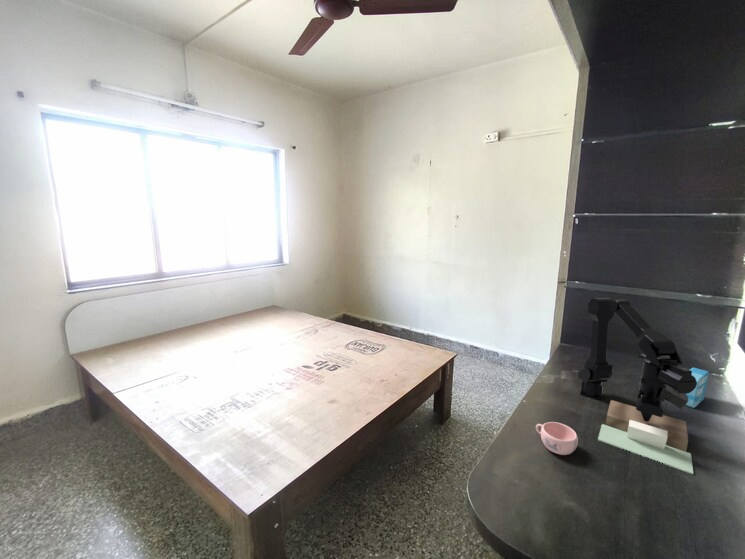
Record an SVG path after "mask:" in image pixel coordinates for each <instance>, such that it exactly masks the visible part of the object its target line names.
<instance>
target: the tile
mask: <svg viewBox="0 0 745 559" xmlns="http://www.w3.org/2000/svg"><path fill="white" fill-rule="evenodd" d="M667 434H668V431H666V430H662V429H659V428H656V427H652V426H649V425H646V424H643V423H639V422H636V421H633V420H629V426H628V432H627V438H630V439H633V440H636V441H639V442H642V443H645V444H648V445H651V446H654V447H657V448H660V449H663V450H664V448H665V445H666V441H667Z"/></svg>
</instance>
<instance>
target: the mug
mask: <svg viewBox="0 0 745 559" xmlns="http://www.w3.org/2000/svg"><path fill="white" fill-rule="evenodd" d="M539 428H540V429H539ZM535 431H536V432H537V434H539V435H540V437H541V441H542V443H543V445H544V446H545V448H546V449H548V450H549V451H550V452H551V453H553V454H554V453H555V454H556V455H559V456H567V455H571V454H573V453H574V452H575V450H576V449H577V447H578V442H579V438H578V435H577V433H576V431H575V430H574V429H573V428H571V427H570V426H569V425H567V424H564V423H562V422H561V423H560V422H558V421H557V422H556V421H549V422H545V423H543V424H542V423H537V424H536V425H535Z"/></svg>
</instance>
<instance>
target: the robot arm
mask: <svg viewBox="0 0 745 559" xmlns="http://www.w3.org/2000/svg"><path fill="white" fill-rule="evenodd" d="M587 311H588V315H589V317H590V318H591V320H592V328H591V330H592V331H591V341H590V342H591V344H590V356H589V357H588V359H587V360H586V361H585V363H584V366H583V367H584V368H583V369H581V370H580V371H578V372H577V378H578V379H579V380H581V387H580V388H581V389H580V391H579V395H581V396H584V397H588V398H591V399H594V400H597V401H600V398H602V397H603V391H604V384H603V383H607V382H608V381H609V379H611V376H612V375H613V364H611V363H610V362H609V361H608V360H607V353H608V352H607V351H608V350H607V349H608V337H609V322H610V321H611V319H612V318H613V317H614V316H615V314H616V315H617V316H618V317H619V318H620V319H621V320H622V322H623V323H624V324H625V325H626V327H628V328H629V329H630V331H631V332H632V334H634V335H635V337H636V338H637V345H638V347H639V348H640V350H641V351H642V353H640V354H638V355H637V357H638V358H639V359H642V360H643V364H642V371H641V374H640V381H638V386H637V390H639V391H638V394H637V400H636V405H635V407H636V410H638V411H641V414H642V416H643V419H644V421H646V422H649V420H650V418H651V416H652V415H655V416H658V417H663V415H664V412H665V409H664V405H663V404H662V403H663V402H665V401H667V402H669V403H671V405H674V406H676V408H678V409H683V408H684V407H685V406H687V405H686V403H687V402H688V401H689V400H688V396H687V395H686V394H687V393H690V392H692V391H693V390H694V389H695V388H696V385H697V382H696V379H695V377H694V376H692V371H690V369H688V368H684V367H682V365H683V361H682V359H681V356H680V355H679V352H678V350H677V348H676V345H675V343H674V341H673V340H671V338H669V337H667V336H666V335H665V334H663V333H662V332H659V331H657V330H655V329H654V328H652V327H651V326H650V325H649V323H648V322H647V321H646V320H645V319H644V318H643V317H642V316H641V315H640V314H639V313H638V312H637V310H635V308H633V306H632V305H631V303H630V301H628V300H626V299H612V298H611V297H595V298H591V299H589V300H588V303H587Z"/></svg>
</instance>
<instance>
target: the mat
mask: <svg viewBox="0 0 745 559" xmlns="http://www.w3.org/2000/svg"><path fill="white" fill-rule="evenodd" d="M597 441H598V442H600V443H605V444H608V445H611V446H612V447H614V448H615V447H616V448H619V449H621V450H623V449H624V450H623V451H626V450H627V451H626V452H629V451H630V453H632V454H635V455H637V456H640V455H641V457H643V458H646V457H647V458H646V459H648V458H649V460H651V459H652V460H651V461H654V460H655V462H657V461H658V462H657V463H659V462H660V463H659V464H662V463H663V464H662V465H664V466H665V465H666V466H668V467H671V468H673V469H676V470H678V471H679V470H680V471H682V472H685V473H687V474H691V475H694V467H693V458H692V453H690V452H687V451H686V452H685V451H682V450H679V449H676V448H673V447H670V446H667V445H665V448H664V450H663V449H660V448H657V447H654V446H651V445H648V444H645V443H642V442H639V441H636V440H633V439H630V438H627V432H625V431H622V430H619V429H616V428H613V427H610V426H607V425H606V424H604V423H602V424H601V425H600V430H599V432H598V437H597Z"/></svg>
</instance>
